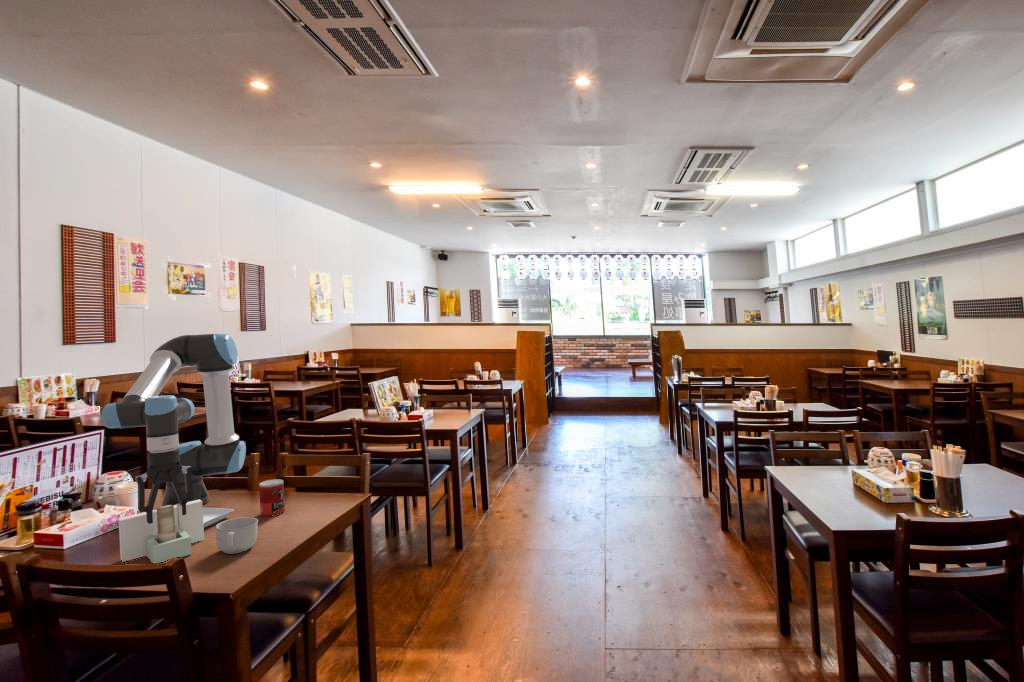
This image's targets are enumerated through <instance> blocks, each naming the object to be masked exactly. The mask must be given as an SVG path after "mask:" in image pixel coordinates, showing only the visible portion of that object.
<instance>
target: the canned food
mask: <svg viewBox="0 0 1024 682" xmlns="http://www.w3.org/2000/svg"><path fill="white" fill-rule="evenodd" d="M284 484H285V483H284V479H279V478H278V479H277V478H276V479H275V478H274V479H273V478H272V479H267V480H264V481H262V482H259V484H258V493H259V508H260V509H259V511H260V512H259V513H260V515H261V516H262V515H263V516H272V515H277V514H280V513H282V512H283V513H284V512H285V511H286V508H285V505H286V504H285V485H284ZM283 513H282V514H283ZM280 515H281V514H280ZM263 516H262V517H263ZM277 516H278V515H277ZM272 517H273V516H272Z"/></svg>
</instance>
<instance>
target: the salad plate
mask: <svg viewBox="0 0 1024 682" xmlns="http://www.w3.org/2000/svg"><path fill="white" fill-rule="evenodd" d="M234 511H235V509H234V508H223V507H206V506H205V507H203V526H204V529H205V527H206V528H207V527H209V526H212V525H214V524H217V523H218V522H220V521H222V520H224V519H226V518H227V517H229V516H231V514H233V512H234Z"/></svg>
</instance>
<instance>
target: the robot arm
mask: <svg viewBox="0 0 1024 682" xmlns="http://www.w3.org/2000/svg"><path fill="white" fill-rule="evenodd" d="M237 362H238V350H237V345H236V343H235V340H234V339H233V338H232V336H231V335H229V334H228V333H227V334H225V333H205V334H191V335H190V334H184V335H179V336H177V337H174V338H172V339H170V340H167V341H166V342H164V343H163V344H161V345H159V347H158V348H156V349H155V350H154V352H153V353H152V354H151V355H150V357H149V364H148V365H147V366H146V367H145V368H144V370H143V372H142V373H141V374H140V375H139V377H138V378H137V379H136V381H135V382H134V383H133V384H132V386H131V387H130V389H128V391H127V392H126V394H125V395H124V397H123V398H122V399H121V400H120V401H119V402H112V403H108V404H105V406H104V407H103V409H102V411H101V421H102V425H104V427H106V428H108V429H128V428H137V427H145V430H146V431H145V432H146V451H147V452H148V453H147V456H146V457H147V470H146V471H145V473H142V474H140V475H139V474H138V475H136V476H135V477H134V479H135V481H136V484H137V510H138V512H139V513H143V512H146V517H147V522H148V524H150V523H151V524H152V534H153V535H157V522H156V511H155V510H156V509H154V507H155V503H156V500H157V496H158V492H159V490H160V489H159V488H160V486H161V484H164V483H165V491H164V494H163V497H162V500H161V506H160V507H163V506H168V505H177V523H178V527H179V528H183V519H182V516H183V515H186V504H187V502H190V501H195V500H199V499H200V500H201V501H202V506H204V505H205V503H206V504H208V502H209V501H210V495H209V491H208V490H207V488H206V485H205V483H204V479H203V476H212V475H223V474H227V475H228V474H232V473H237V472H239V471H240V470H241V469H242V468H243V467H244V466H243V465H244V463H245V459H246V453H247V447H246V445H247V444H246V442H245V441H244V440H240V435H239V434H237V433H235V426H234V416H233V415H234V414H233V404H232V403H233V402H232V393H231V383H230V372H231V371H232V370H233V369H234V366H233V365H236V364H237ZM185 367H196V372H197V373H198V374H200V376H202V383H203V384H202V385H203V394H204V395H203V396H204V404H205V405H204V406H205V415H206V423H207V431H208V433H207V435H208V437H207V438H206V439H205V440H204V444H203V443H202V442H201V441H200V440H193V441H188V442H184V443H180V442H179V441H180V440H179V424H181V423H182V424H183V423H184V422H186V421H188V420H190V419H191V418H192V417H193V416H194V414H195V409H196V408H195V405H194V403H193V402H192V400H191V399H188V398H185V397H176V396H175V395H174V394H173V395H172V394H170V395H168V394H166V395H160V393H161V392H162V390H163V389H164V387H165V386H166V384H167V383H168V381H170V378H171V377H172V375H173V374H174V373H176V372H178V371H179V370H180V369H182V368H185ZM147 478H149V479H150V480H152V484H151V489H150V492H149V495H148V500H147V503H146V501H145V499H146V495H145V492H146V491H145V488H146V487H145V482H146V481H147ZM145 505H146V506H145Z"/></svg>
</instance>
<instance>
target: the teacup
mask: <svg viewBox="0 0 1024 682" xmlns="http://www.w3.org/2000/svg"><path fill="white" fill-rule="evenodd" d="M258 523H259V519H258V518H257V517H256V518H255V517H247V516H245V517H243V516H242V517H241V516H240V517H235V518H230V519H226V520H223V521H221V522H220V521H219V523H216V525H215V531H216V532H215V541H216V542H215V544H216V546H217V548H218V550H220V551H222V552H223V553H224V554H229V555H233V554H240V553H244V552H246V551H247V550H249V549H250V548H251V547H252V546H253V545H254V544H255V543H256V542H257V539H258V538H257V537H258V525H259V524H258ZM243 551H244V552H243Z"/></svg>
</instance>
